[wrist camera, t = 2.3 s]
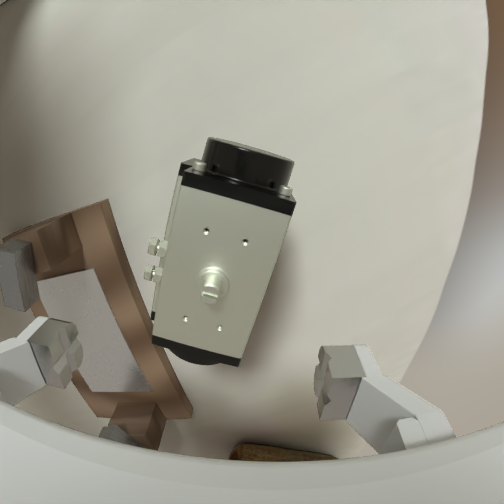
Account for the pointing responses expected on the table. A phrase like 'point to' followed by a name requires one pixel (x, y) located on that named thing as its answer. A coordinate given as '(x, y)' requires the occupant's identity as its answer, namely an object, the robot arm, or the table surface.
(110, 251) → the shaft rig base
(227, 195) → the pneumatic valve
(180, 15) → the table surface
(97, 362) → the grey long bracket
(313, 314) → the table surface
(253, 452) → the brown wooden cylinder
